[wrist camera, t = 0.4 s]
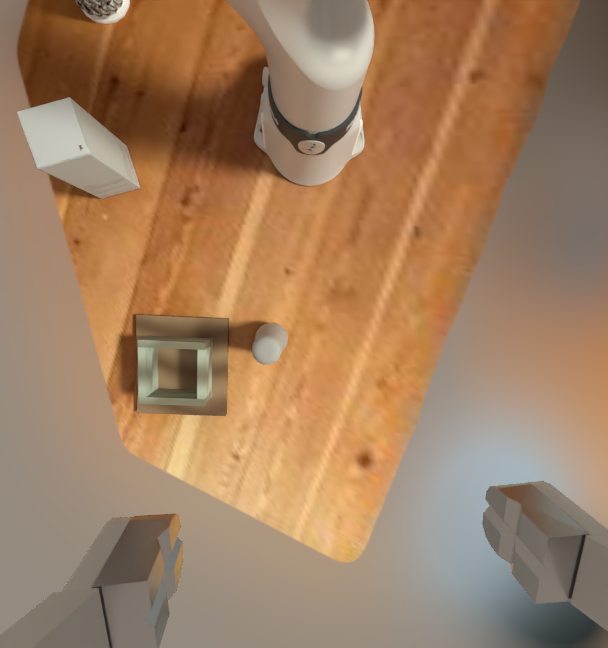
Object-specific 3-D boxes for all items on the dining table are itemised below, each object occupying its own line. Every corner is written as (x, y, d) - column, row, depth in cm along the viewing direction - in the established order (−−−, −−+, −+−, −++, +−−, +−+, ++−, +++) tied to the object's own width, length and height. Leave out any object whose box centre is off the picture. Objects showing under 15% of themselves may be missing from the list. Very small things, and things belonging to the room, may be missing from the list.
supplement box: (127, 144, 49) (71, 94, 37) (141, 189, 50) (91, 155, 38) (85, 155, 49) (14, 109, 37) (99, 200, 50) (35, 169, 38)
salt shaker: (256, 351, 54) (244, 370, 41) (256, 320, 53) (244, 330, 40) (287, 352, 54) (286, 371, 41) (288, 321, 53) (287, 331, 41)
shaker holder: (138, 314, 52) (121, 317, 47) (228, 318, 53) (221, 321, 48) (139, 410, 54) (122, 424, 49) (226, 413, 55) (219, 427, 49)
